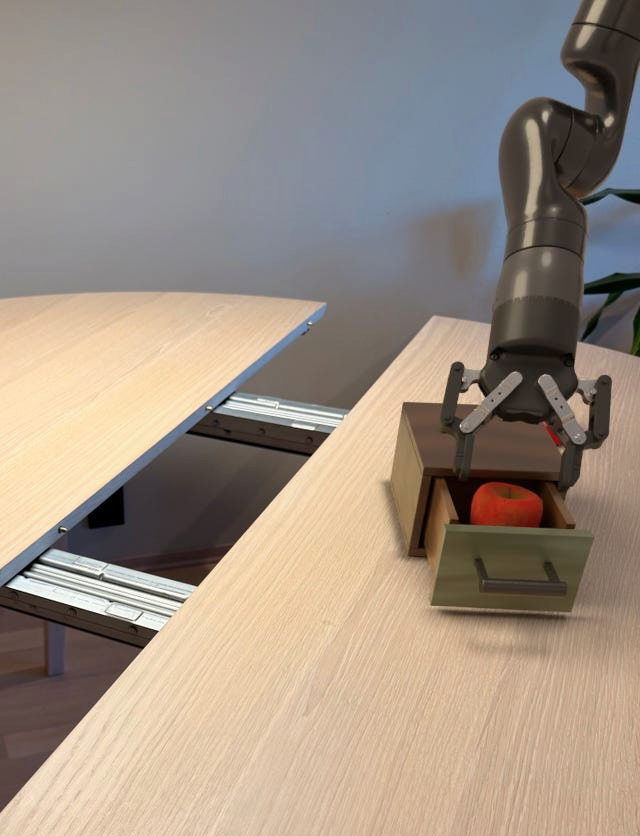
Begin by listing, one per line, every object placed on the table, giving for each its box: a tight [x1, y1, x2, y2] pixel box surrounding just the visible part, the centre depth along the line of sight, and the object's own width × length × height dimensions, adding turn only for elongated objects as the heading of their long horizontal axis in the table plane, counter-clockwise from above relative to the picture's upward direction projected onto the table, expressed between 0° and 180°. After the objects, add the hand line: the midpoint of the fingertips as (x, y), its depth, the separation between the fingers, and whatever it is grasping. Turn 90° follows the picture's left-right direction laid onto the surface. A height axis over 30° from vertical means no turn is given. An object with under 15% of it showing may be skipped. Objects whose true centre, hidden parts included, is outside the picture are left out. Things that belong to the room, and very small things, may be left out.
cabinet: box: [389, 401, 568, 557], centre depth 102 cm, size 16×14×10 cm
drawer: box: [421, 476, 595, 613], centre depth 91 cm, size 19×13×8 cm, turn 176°
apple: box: [469, 482, 543, 528], centre depth 91 cm, size 6×6×8 cm
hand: (513, 484), depth 87 cm, fingers open, 8 cm apart
